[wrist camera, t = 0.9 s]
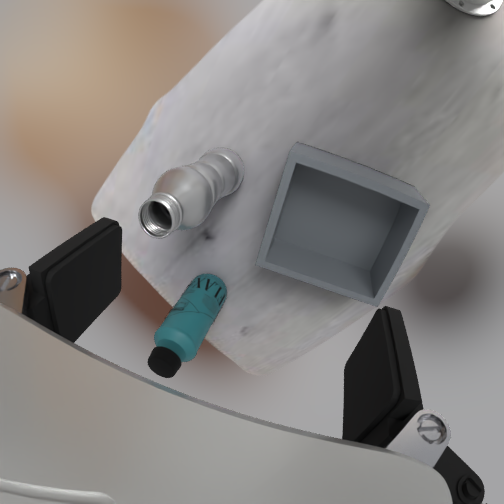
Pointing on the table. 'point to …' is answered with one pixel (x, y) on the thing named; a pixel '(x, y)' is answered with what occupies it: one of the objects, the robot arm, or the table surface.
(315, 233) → the bin
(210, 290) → the beverage bottle
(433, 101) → the table surface
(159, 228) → the silver aluminium bottle
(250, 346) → the table surface
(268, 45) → the table surface
